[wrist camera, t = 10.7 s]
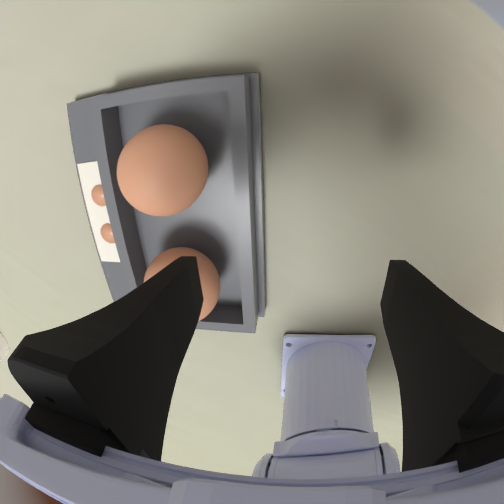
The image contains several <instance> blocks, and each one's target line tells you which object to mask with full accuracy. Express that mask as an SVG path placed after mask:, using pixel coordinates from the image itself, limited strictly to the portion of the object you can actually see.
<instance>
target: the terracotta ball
mask: <svg viewBox="0 0 504 504" xmlns="http://www.w3.org/2000/svg"><path fill="white" fill-rule="evenodd" d="M208 171H209V170H208V159H207V155H206V152H205V150H204V148H203V146H202V145H201V143H200V142H199V140H198V139H197V138H196V137H195V136H194V135H193V134H191V133H190V132H189V131H187V130H185V129H184V128H181V127H179V126H175V125H168V124H159V125H154V126H150V127H147V128H145V129H143V130H141V131H139V132H138V133H136V134H135V135H134V136H133V137H132V138H131V139H130V140H129V141H128V142H127V143H126V145H125V146H124V148H123V150H122V151H121V154H120V156H119V159H118V164H117V180H118V185H119V188H120V190H121V192H122V194H123V196H124V197H125V199H126V200H127V201H128V202H129V203H130V204H131V205H132V206H133V207H134V208H136V209H137V210H139V211H141V212H143V213H145V214H148V215H152V216H169V215H174V214H177V213H179V212H181V211H183V210H185V209H187V208H188V207H190V206H191V205H192V204H193V203H194V202H195V201H196V200H197V199H198V198H199V196H200V195H201V193H202V191H203V190H204V187H205V185H206V182H207V178H208Z"/></svg>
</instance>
